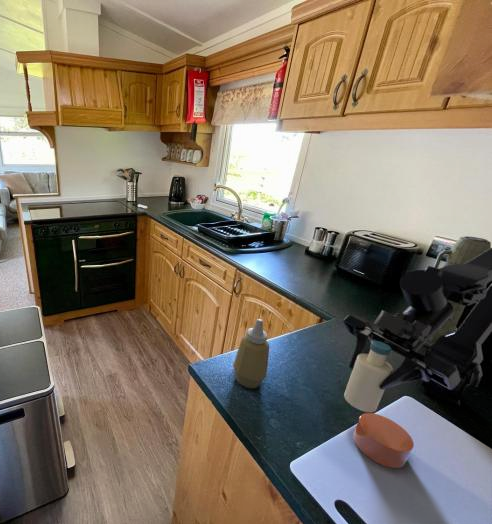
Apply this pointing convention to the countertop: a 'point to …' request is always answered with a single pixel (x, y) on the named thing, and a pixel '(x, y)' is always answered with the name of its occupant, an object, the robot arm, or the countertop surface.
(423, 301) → the robot arm
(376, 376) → the cream bottle
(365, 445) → the orange short round piece
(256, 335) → the squeeze bottle
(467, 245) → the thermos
